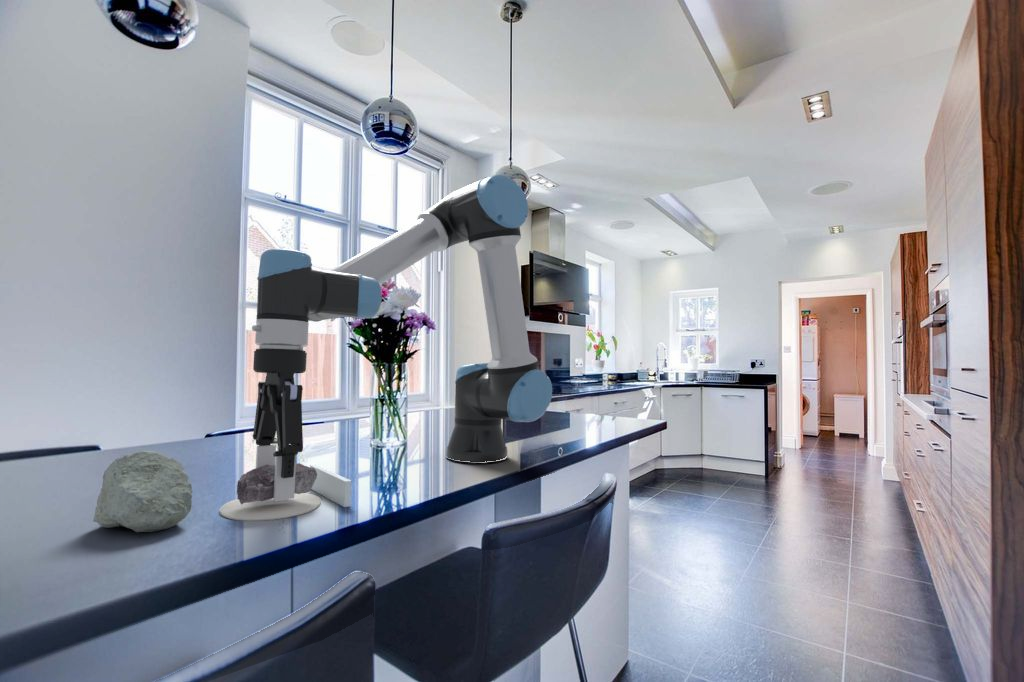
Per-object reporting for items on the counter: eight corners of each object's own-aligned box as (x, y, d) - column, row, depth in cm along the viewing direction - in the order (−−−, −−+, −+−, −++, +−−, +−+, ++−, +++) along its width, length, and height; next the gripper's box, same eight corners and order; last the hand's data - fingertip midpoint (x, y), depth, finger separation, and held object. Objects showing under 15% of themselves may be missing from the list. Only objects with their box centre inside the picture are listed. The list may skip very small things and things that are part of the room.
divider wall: (314, 486, 87) (315, 464, 87) (350, 506, 76) (351, 480, 76) (309, 487, 86) (310, 465, 87) (344, 507, 75) (345, 481, 76)
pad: (302, 490, 85) (302, 487, 85) (334, 509, 74) (334, 506, 74) (210, 503, 75) (210, 501, 75) (232, 527, 65) (233, 524, 65)
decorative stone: (92, 516, 67) (70, 468, 62) (180, 478, 75) (167, 432, 69) (123, 584, 61) (101, 537, 56) (215, 535, 69) (204, 489, 63)
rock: (219, 499, 72) (221, 468, 72) (287, 484, 82) (289, 457, 82) (252, 509, 68) (254, 475, 68) (320, 492, 78) (322, 463, 78)
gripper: (237, 347, 82) (229, 481, 80) (278, 346, 66) (269, 513, 64) (283, 349, 87) (277, 475, 85) (332, 348, 71) (324, 503, 70)
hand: (273, 492), depth 75 cm, fingers closed on rock, 9 cm apart
